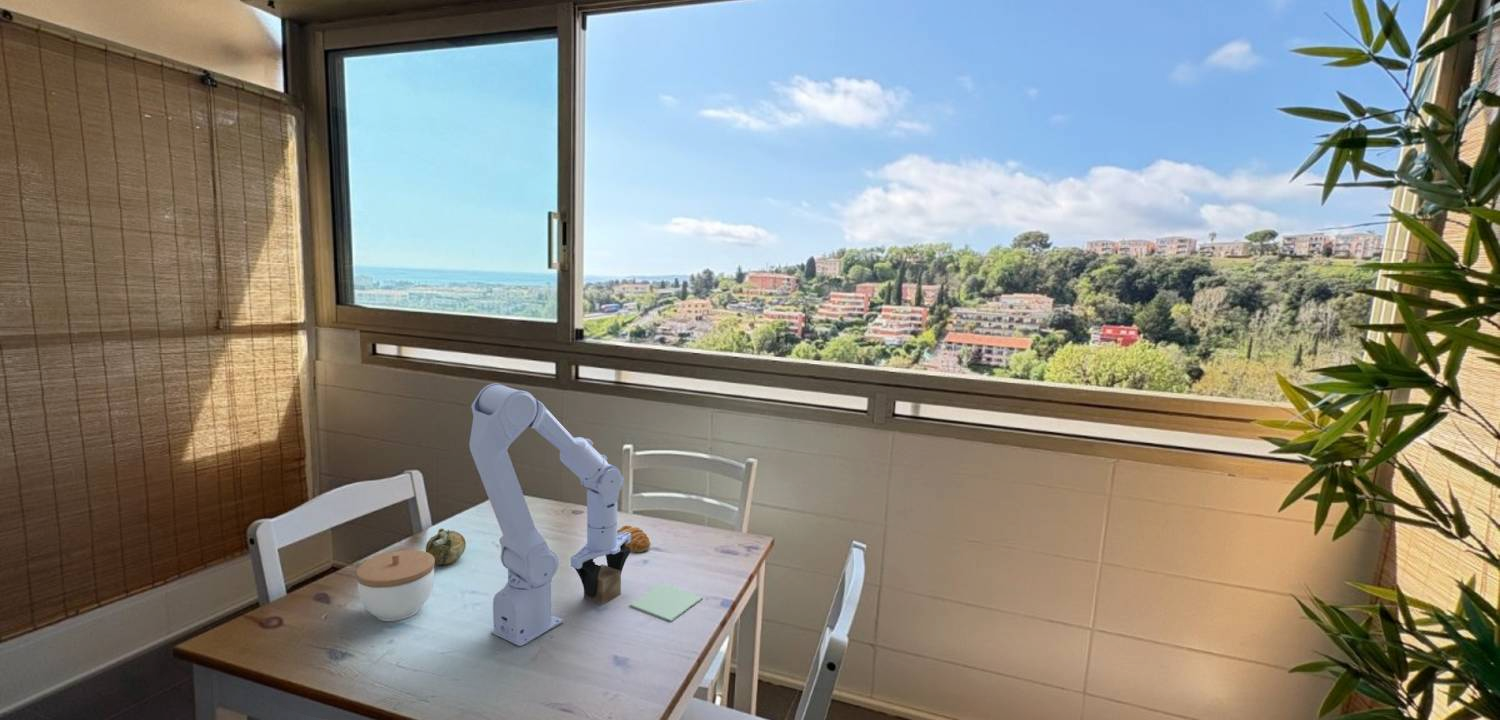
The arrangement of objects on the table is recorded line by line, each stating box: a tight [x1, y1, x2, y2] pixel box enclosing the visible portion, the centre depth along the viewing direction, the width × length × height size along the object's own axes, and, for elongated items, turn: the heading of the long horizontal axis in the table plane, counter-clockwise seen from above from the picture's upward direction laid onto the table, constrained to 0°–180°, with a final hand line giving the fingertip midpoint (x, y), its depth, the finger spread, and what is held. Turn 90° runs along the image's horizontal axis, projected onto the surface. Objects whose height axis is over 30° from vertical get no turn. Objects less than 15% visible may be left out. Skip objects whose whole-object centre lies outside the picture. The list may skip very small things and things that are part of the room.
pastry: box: [617, 525, 651, 553], centre depth 149 cm, size 9×7×4 cm
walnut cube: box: [583, 564, 622, 606], centre depth 125 cm, size 5×5×5 cm
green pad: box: [629, 583, 704, 622], centre depth 124 cm, size 10×10×1 cm
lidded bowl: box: [355, 549, 436, 622], centre depth 117 cm, size 13×13×11 cm
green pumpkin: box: [425, 528, 467, 566], centre depth 138 cm, size 8×8×8 cm
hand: (602, 589), depth 126 cm, fingers open, 6 cm apart
